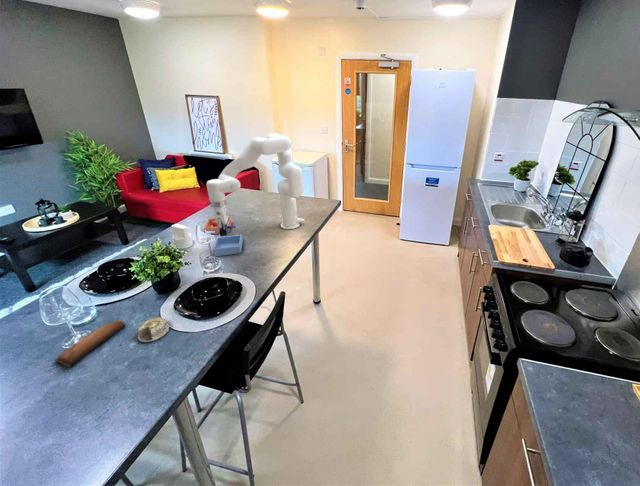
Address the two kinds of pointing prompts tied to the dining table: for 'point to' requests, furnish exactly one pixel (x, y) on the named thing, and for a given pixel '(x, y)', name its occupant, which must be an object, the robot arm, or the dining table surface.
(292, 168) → the robot arm
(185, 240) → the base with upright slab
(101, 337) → the sunglasses case
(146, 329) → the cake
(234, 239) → the blue bin
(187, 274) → the dining table surface
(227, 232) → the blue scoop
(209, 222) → the red bin
